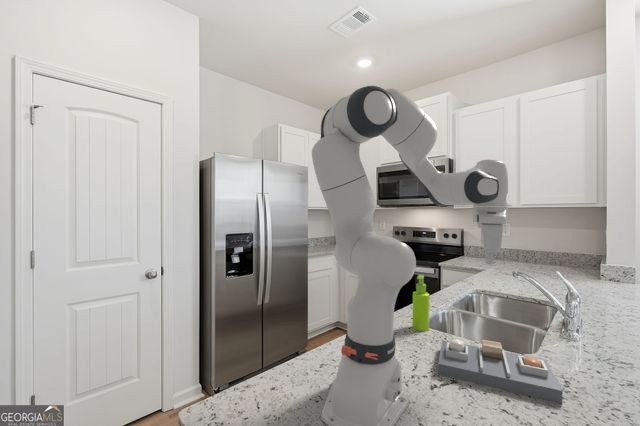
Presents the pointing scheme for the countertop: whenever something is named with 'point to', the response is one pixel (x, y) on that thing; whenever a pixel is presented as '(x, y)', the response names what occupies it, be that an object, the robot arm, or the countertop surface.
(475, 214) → the robot arm
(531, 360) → the terracotta button
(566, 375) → the countertop surface
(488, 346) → the slider knob
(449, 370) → the control panel
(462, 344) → the white button
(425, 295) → the soap dispenser
